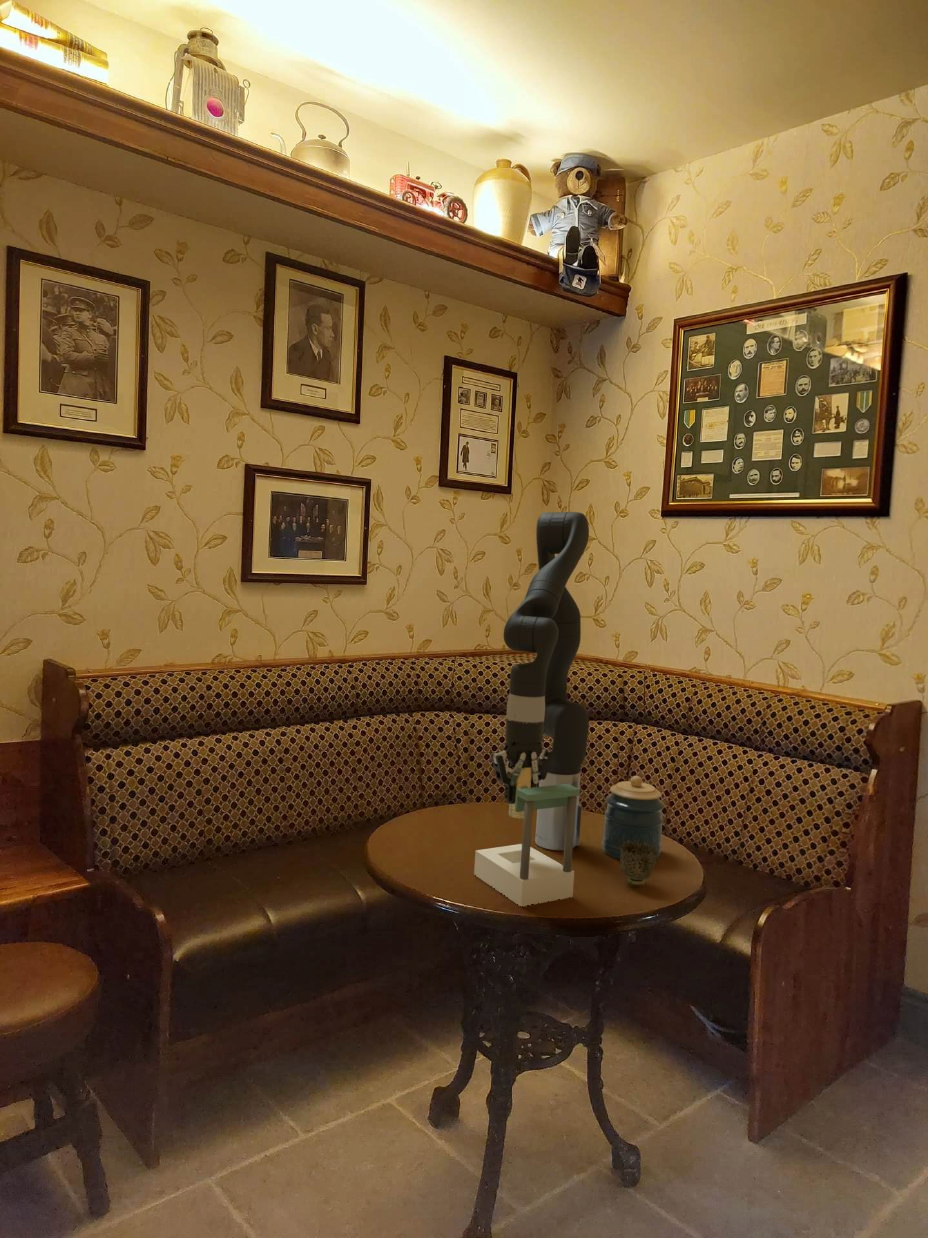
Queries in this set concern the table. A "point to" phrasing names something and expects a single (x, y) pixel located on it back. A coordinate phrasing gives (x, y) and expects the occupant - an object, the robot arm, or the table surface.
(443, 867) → the table surface
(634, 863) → the cup
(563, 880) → the socket stand
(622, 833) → the canister
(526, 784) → the brass peg
